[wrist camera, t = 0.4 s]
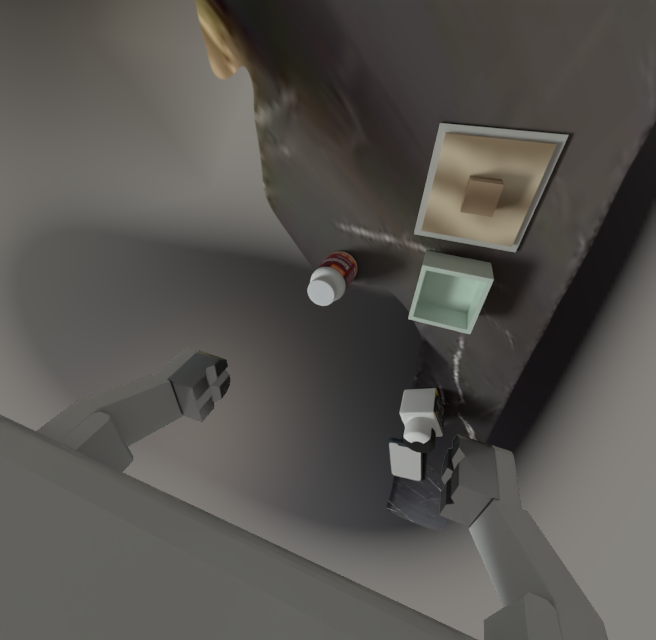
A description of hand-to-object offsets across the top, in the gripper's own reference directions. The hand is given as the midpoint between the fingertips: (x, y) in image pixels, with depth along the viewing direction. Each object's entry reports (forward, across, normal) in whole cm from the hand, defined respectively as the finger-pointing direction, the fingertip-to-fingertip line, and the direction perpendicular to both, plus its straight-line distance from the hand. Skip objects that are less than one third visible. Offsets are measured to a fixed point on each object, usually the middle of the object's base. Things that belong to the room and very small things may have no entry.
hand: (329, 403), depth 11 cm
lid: (+43, -7, +1) cm, 44 cm away
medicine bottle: (+44, -10, +45) cm, 64 cm away
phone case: (+44, -11, +69) cm, 83 cm away
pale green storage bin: (+44, -7, +16) cm, 47 cm away
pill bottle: (+44, +12, +17) cm, 49 cm away
